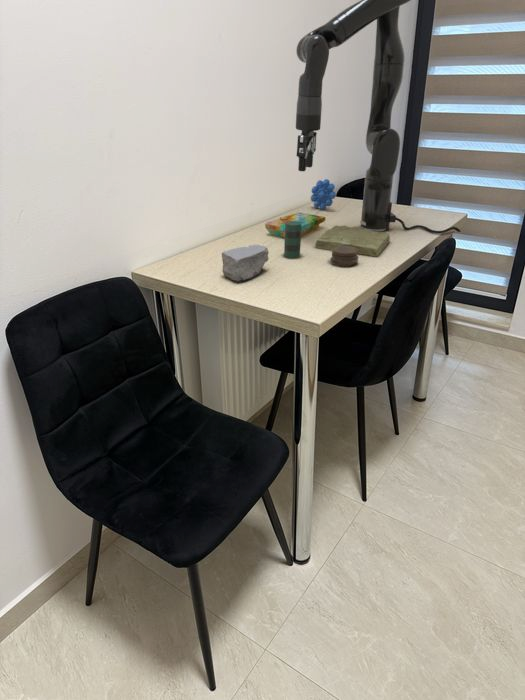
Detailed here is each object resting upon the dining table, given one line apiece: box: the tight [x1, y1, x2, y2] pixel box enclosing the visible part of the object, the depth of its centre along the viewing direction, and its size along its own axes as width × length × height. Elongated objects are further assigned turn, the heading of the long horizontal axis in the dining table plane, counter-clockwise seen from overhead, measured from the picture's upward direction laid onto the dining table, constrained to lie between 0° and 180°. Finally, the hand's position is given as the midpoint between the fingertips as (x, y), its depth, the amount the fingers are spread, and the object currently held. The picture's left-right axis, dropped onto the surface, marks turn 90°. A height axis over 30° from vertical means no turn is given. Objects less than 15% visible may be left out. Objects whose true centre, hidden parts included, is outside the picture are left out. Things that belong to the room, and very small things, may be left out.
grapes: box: [310, 178, 337, 211], centre depth 205 cm, size 12×7×12 cm, turn 49°
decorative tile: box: [315, 225, 391, 257], centre depth 166 cm, size 19×20×4 cm
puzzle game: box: [264, 211, 327, 239], centre depth 179 cm, size 12×5×20 cm
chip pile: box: [329, 246, 359, 268], centre depth 150 cm, size 8×8×4 cm
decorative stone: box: [221, 244, 269, 283], centre depth 141 cm, size 15×7×10 cm
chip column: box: [283, 221, 302, 259], centre depth 154 cm, size 5×5×10 cm
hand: (305, 169), depth 163 cm, fingers open, 8 cm apart
